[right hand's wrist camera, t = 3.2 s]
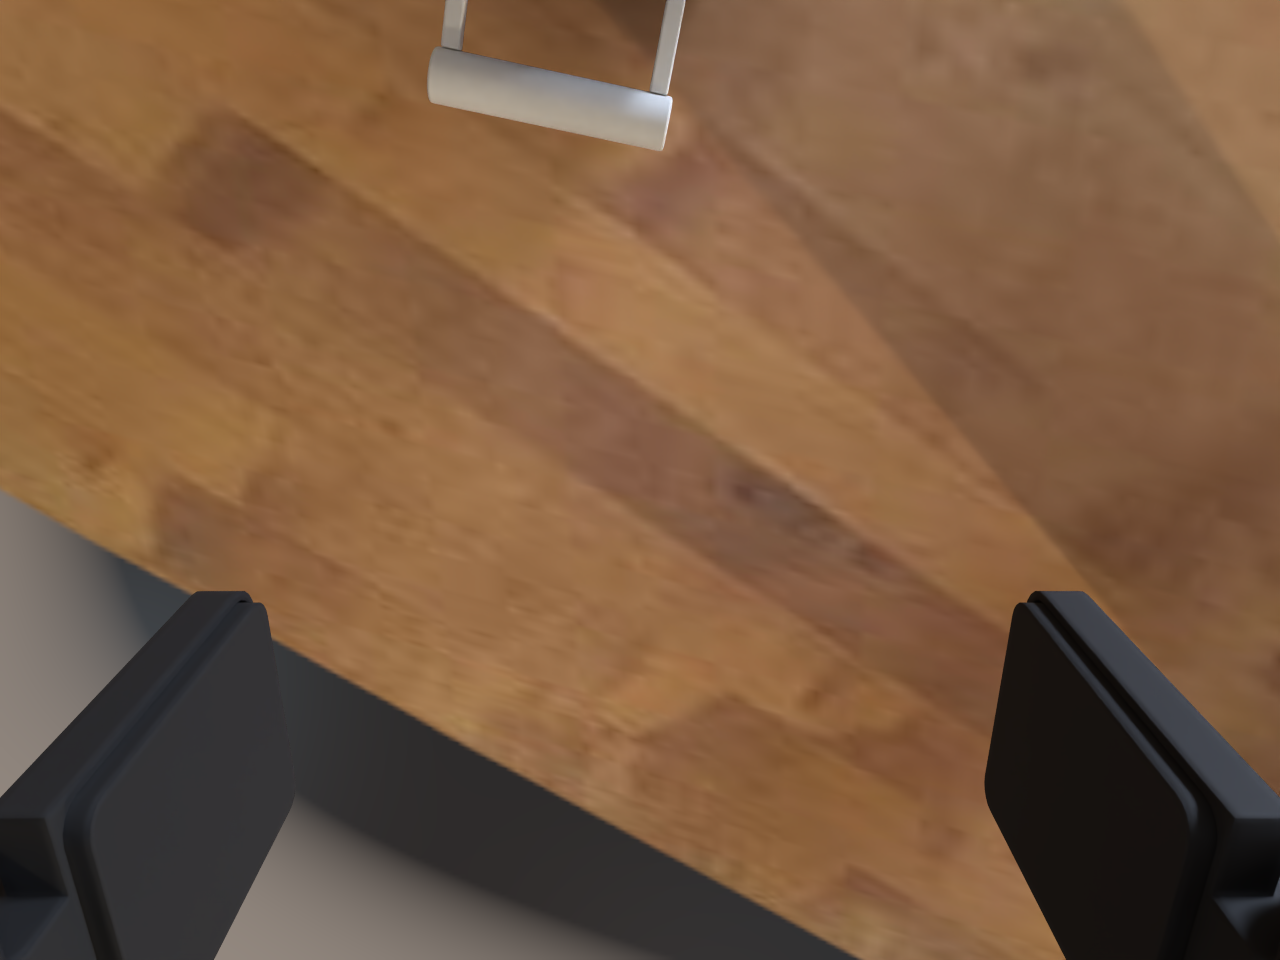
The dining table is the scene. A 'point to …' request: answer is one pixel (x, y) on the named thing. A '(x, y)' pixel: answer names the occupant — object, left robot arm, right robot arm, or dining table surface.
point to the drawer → (555, 88)
